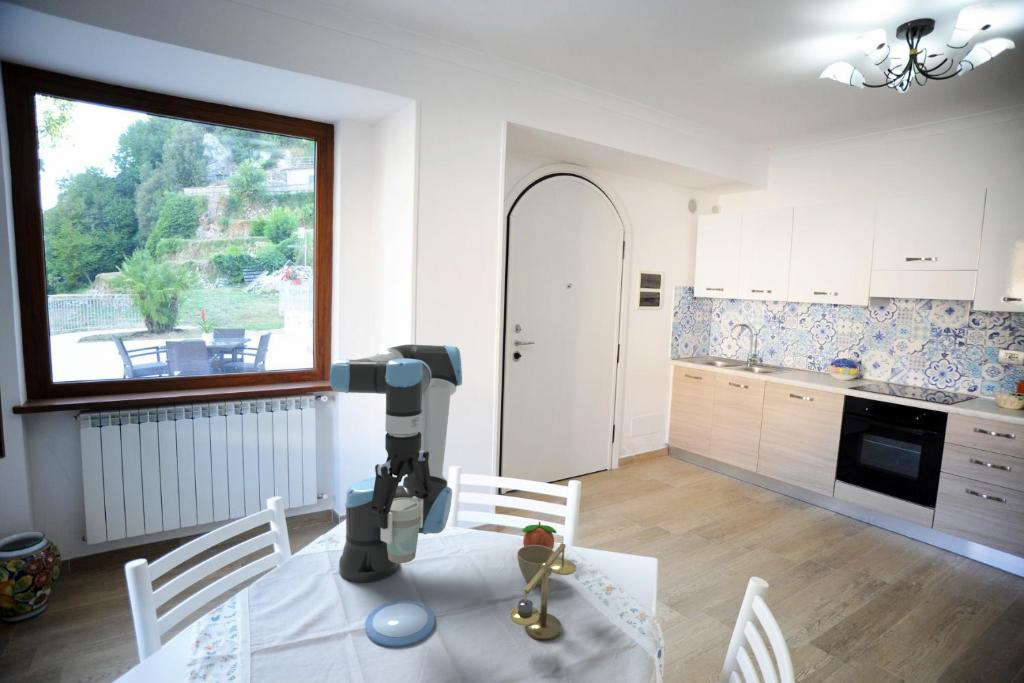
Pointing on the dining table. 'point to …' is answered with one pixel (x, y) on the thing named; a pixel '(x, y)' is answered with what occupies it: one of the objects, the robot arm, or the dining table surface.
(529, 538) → the fruit
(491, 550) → the dining table surface
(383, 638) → the dish
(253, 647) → the dining table surface
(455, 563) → the dining table surface
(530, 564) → the flower pot
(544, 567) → the balance
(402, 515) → the coffee cup
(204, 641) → the dining table surface
